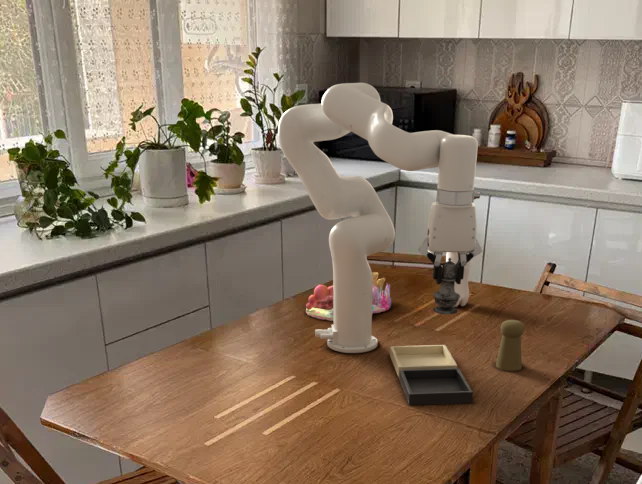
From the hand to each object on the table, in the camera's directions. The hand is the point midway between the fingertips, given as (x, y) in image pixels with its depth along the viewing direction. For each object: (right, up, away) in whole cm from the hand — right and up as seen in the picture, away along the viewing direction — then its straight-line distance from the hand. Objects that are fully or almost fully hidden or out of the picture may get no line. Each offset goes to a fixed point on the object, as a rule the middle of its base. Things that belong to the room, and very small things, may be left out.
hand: (447, 281), depth 170 cm
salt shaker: (0, -6, +3) cm, 7 cm away
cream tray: (-4, -18, +13) cm, 22 cm away
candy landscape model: (-20, -1, +54) cm, 57 cm away
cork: (+16, -18, +12) cm, 27 cm away
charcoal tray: (-3, -24, -1) cm, 24 cm away
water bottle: (+11, +1, +56) cm, 57 cm away
